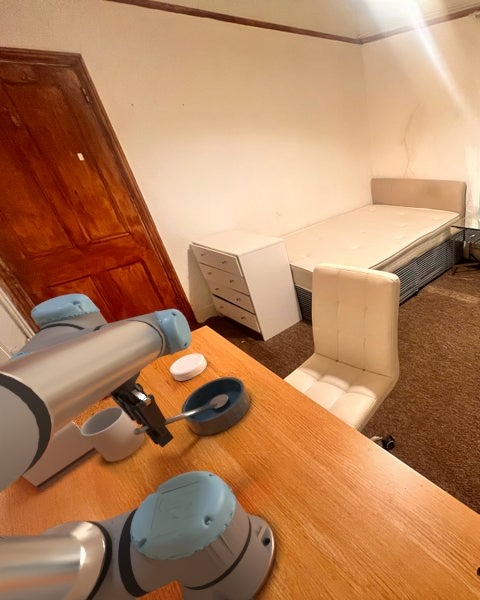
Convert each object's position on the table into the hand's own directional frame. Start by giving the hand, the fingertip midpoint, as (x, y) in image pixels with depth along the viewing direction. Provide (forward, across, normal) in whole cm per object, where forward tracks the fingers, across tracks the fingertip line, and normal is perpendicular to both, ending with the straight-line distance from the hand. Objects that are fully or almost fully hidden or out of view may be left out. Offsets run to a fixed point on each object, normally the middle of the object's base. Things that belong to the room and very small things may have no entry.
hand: (164, 440), depth 73 cm
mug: (+8, +18, +2) cm, 20 cm away
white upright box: (+8, +29, +10) cm, 31 cm away
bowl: (+7, +1, -14) cm, 16 cm away
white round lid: (+8, +26, -24) cm, 36 cm away
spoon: (+5, 0, -7) cm, 8 cm away
